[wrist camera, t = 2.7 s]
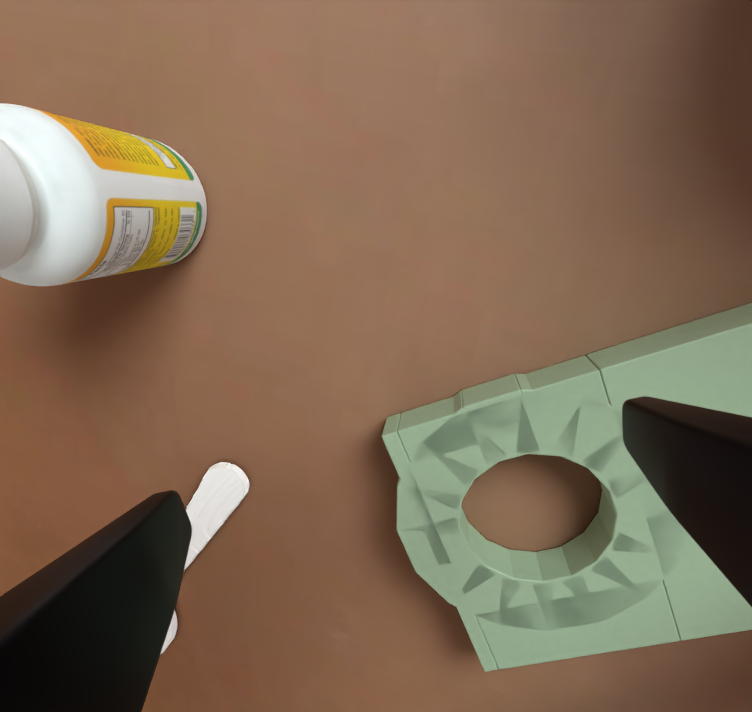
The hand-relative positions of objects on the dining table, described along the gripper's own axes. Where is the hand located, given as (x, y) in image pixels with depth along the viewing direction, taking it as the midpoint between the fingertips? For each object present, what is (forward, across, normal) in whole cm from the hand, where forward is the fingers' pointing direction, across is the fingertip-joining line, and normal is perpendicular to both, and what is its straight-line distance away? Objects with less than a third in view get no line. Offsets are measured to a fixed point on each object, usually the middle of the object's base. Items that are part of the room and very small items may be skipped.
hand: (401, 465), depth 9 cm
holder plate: (+10, -9, +10) cm, 17 cm away
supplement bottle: (+14, +9, -7) cm, 18 cm away
